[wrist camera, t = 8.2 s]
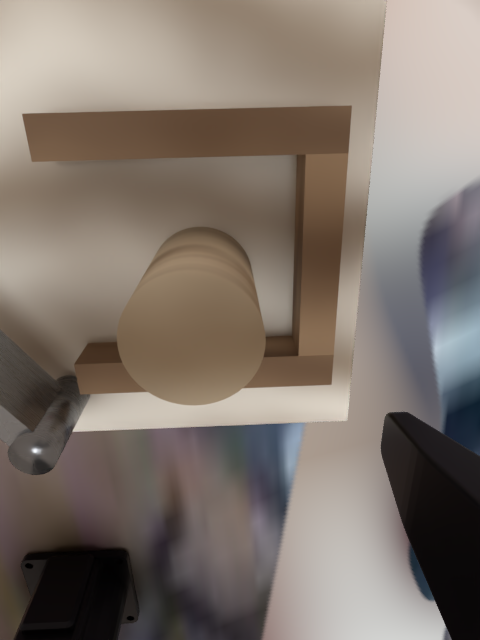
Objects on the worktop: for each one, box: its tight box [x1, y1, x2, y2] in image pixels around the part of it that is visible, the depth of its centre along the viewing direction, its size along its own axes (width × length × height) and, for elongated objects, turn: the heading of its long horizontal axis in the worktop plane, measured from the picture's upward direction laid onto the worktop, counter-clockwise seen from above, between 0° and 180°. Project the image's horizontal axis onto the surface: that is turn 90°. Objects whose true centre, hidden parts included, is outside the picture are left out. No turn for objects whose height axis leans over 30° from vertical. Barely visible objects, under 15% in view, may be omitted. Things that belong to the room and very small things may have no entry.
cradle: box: [0, 0, 387, 432], centre depth 17 cm, size 22×17×3 cm
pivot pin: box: [117, 227, 266, 405], centre depth 16 cm, size 4×4×6 cm
